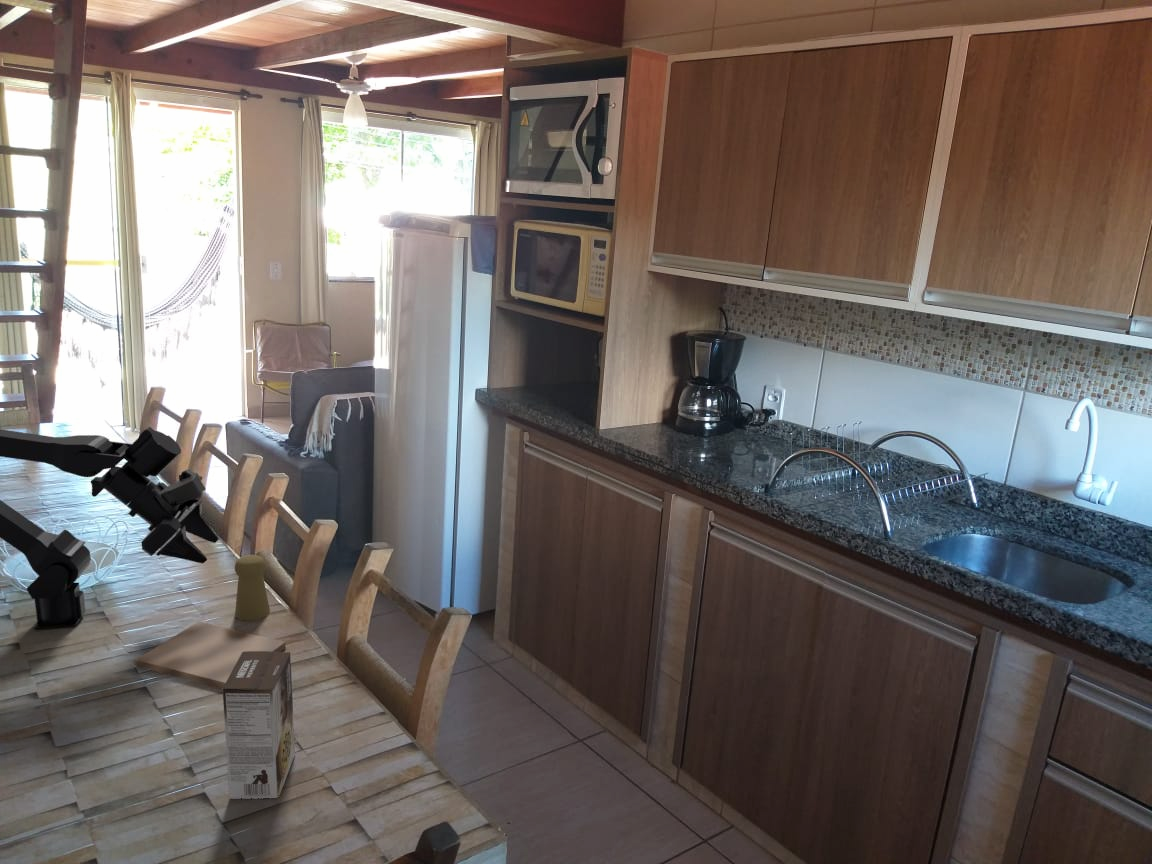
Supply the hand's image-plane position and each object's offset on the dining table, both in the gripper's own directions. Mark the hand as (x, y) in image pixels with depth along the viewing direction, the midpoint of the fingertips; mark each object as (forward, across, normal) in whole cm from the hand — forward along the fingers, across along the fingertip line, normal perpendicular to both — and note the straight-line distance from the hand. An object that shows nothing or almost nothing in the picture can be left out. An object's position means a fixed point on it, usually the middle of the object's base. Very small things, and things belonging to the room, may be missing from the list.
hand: (211, 550), depth 149 cm
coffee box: (+20, -48, -2) cm, 52 cm away
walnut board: (+11, -16, +7) cm, 20 cm away
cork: (+14, 0, +4) cm, 14 cm away
